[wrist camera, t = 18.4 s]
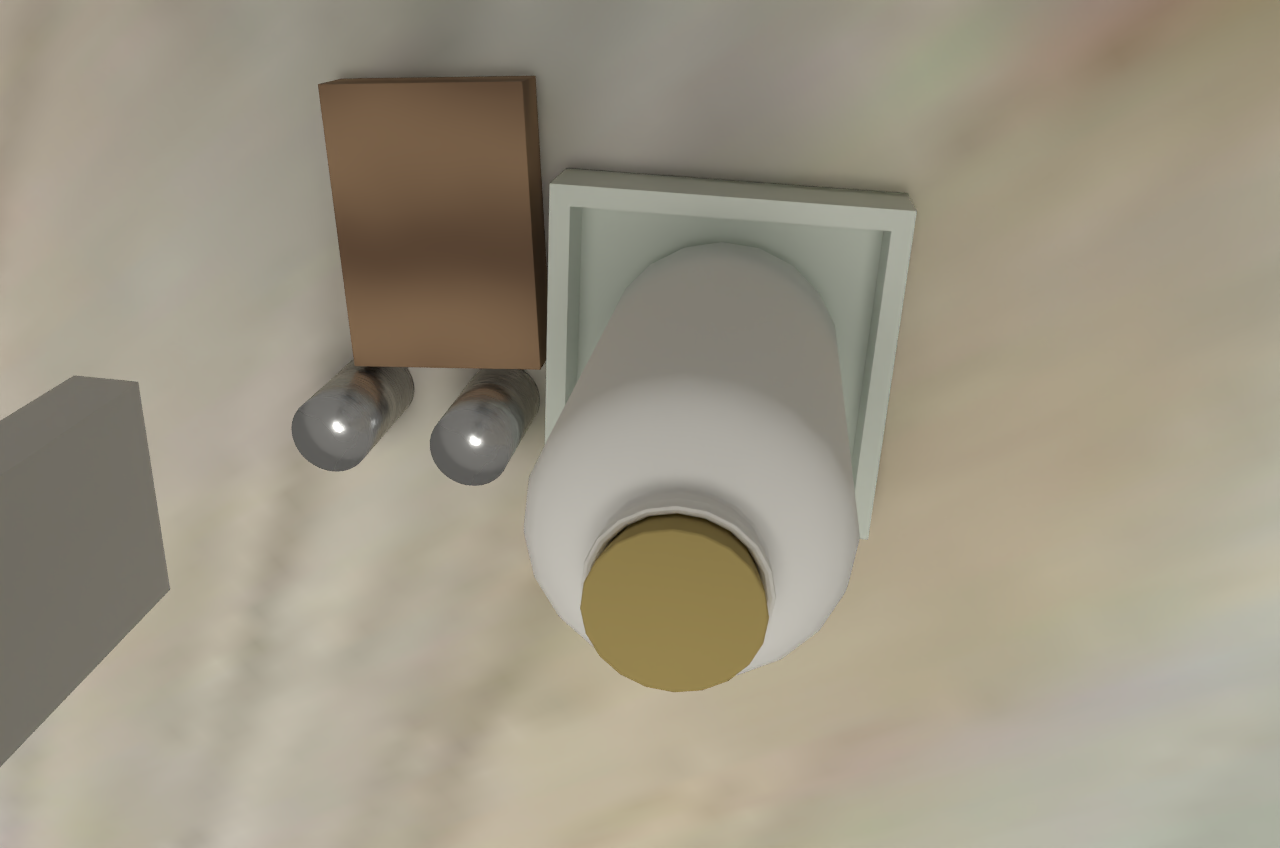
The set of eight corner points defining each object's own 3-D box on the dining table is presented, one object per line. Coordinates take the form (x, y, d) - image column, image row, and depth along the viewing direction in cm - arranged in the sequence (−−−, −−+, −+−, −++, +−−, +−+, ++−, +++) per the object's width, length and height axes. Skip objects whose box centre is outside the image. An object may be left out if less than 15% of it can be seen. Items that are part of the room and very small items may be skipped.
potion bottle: (651, 475, 42) (562, 799, 26) (578, 274, 40) (425, 492, 23) (863, 420, 40) (913, 732, 24) (801, 204, 38) (808, 389, 21)
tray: (566, 168, 39) (549, 183, 36) (907, 193, 38) (917, 211, 35) (559, 471, 44) (543, 505, 41) (863, 502, 42) (867, 539, 40)
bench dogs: (342, 348, 43) (288, 394, 38) (539, 366, 42) (509, 415, 37) (346, 414, 44) (294, 467, 39) (538, 433, 43) (508, 489, 38)
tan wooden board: (345, 77, 39) (317, 84, 37) (538, 74, 38) (522, 81, 36) (377, 344, 43) (354, 366, 41) (553, 347, 42) (540, 369, 40)
